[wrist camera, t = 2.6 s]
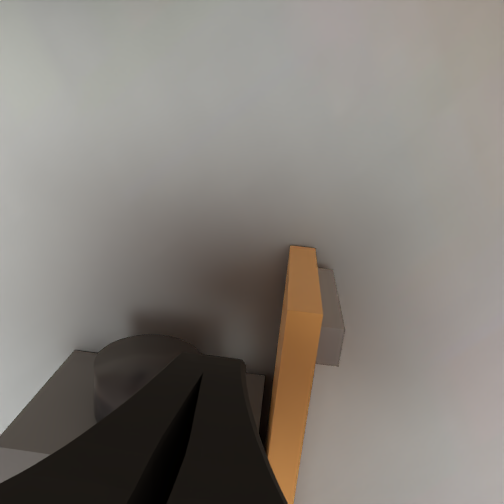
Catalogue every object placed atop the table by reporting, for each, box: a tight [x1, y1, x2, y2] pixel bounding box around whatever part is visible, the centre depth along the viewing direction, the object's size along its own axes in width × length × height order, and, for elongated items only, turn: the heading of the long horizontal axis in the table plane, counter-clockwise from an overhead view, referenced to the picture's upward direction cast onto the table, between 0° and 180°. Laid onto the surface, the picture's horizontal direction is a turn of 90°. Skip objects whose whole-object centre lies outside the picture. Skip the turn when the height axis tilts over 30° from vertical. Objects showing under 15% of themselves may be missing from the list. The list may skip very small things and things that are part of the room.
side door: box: [264, 245, 345, 504], centre depth 15 cm, size 15×1×5 cm, turn 175°
